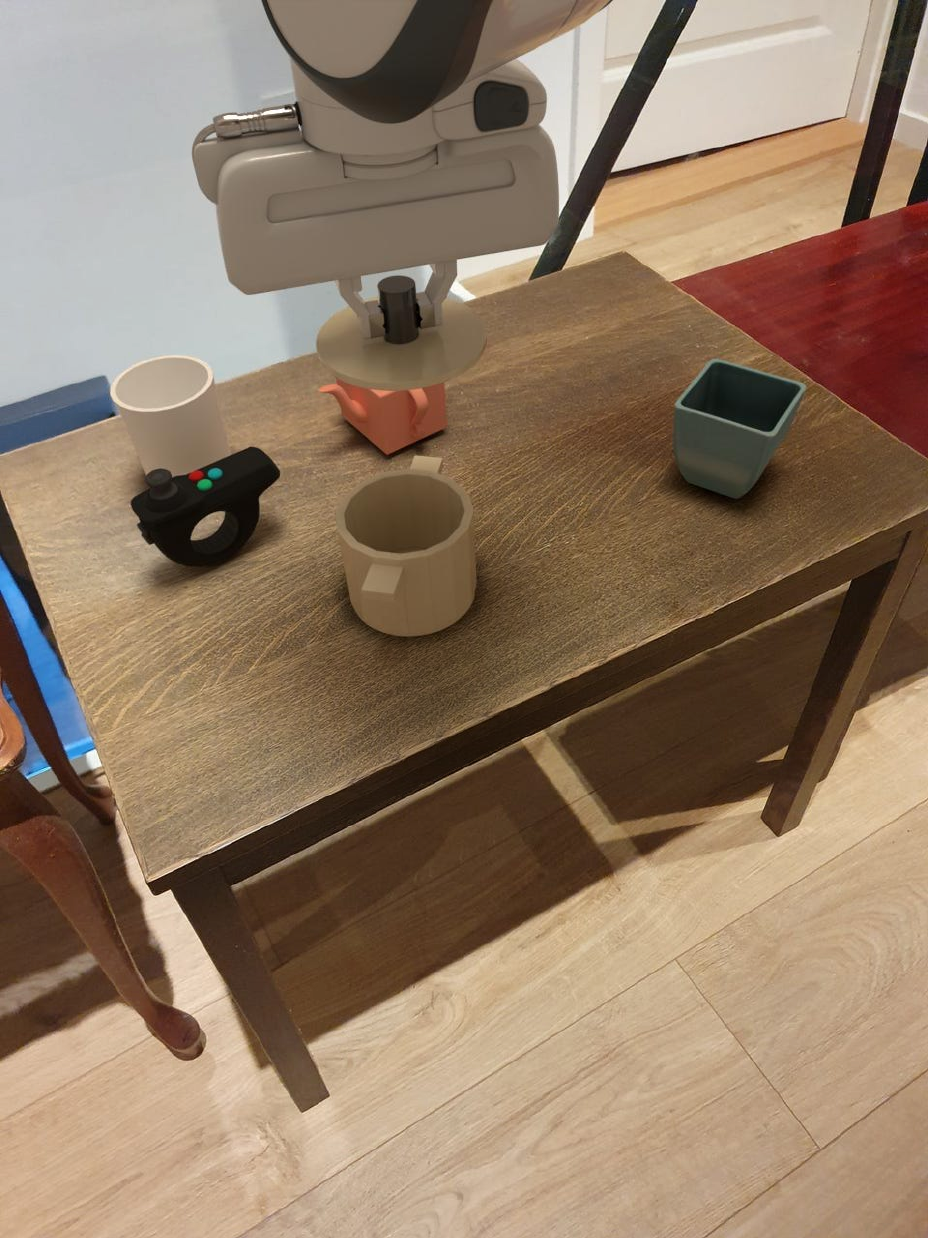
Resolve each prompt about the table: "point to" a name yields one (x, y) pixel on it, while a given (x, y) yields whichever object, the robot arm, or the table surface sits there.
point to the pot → (408, 549)
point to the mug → (172, 413)
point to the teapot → (391, 413)
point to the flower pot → (732, 425)
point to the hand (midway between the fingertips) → (401, 328)
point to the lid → (401, 342)
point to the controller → (205, 507)
